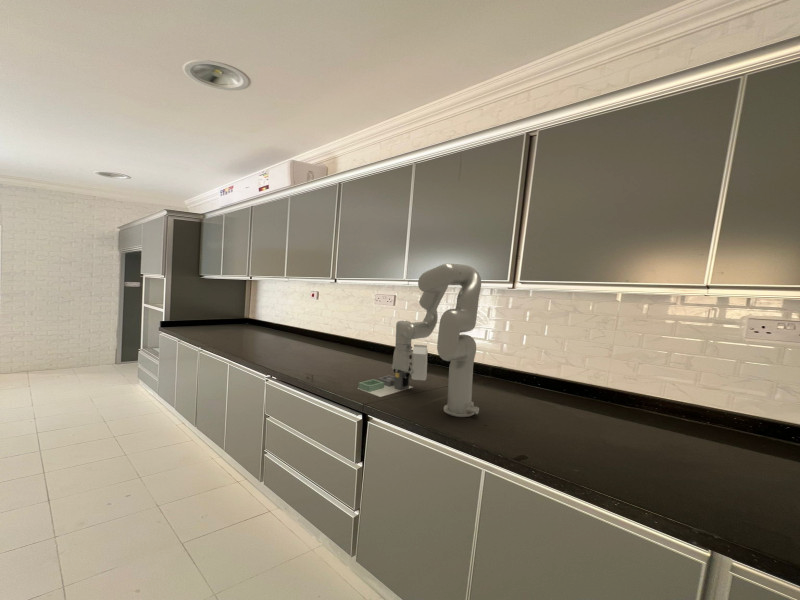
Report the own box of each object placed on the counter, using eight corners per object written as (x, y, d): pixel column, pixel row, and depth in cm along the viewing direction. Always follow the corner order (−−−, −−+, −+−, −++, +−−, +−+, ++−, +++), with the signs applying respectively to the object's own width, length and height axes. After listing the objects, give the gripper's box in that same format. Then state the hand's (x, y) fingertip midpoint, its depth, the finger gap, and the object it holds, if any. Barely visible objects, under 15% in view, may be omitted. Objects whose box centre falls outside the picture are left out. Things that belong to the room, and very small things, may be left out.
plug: (409, 387, 169) (409, 371, 168) (399, 390, 164) (399, 373, 163) (402, 385, 171) (403, 369, 171) (393, 388, 166) (393, 372, 166)
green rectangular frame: (384, 387, 167) (384, 382, 167) (369, 391, 160) (369, 386, 160) (373, 384, 172) (373, 379, 172) (358, 388, 165) (358, 382, 165)
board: (413, 389, 170) (413, 382, 170) (380, 399, 154) (380, 391, 154) (389, 382, 181) (390, 375, 181) (356, 390, 165) (357, 383, 165)
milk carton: (424, 382, 182) (426, 346, 181) (411, 381, 184) (412, 345, 183) (426, 379, 189) (427, 344, 188) (413, 377, 191) (414, 343, 190)
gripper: (421, 348, 164) (420, 387, 165) (396, 343, 175) (394, 379, 176) (411, 350, 158) (409, 390, 159) (385, 345, 170) (384, 382, 171)
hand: (401, 384), depth 168 cm, fingers closed on plug, 4 cm apart
